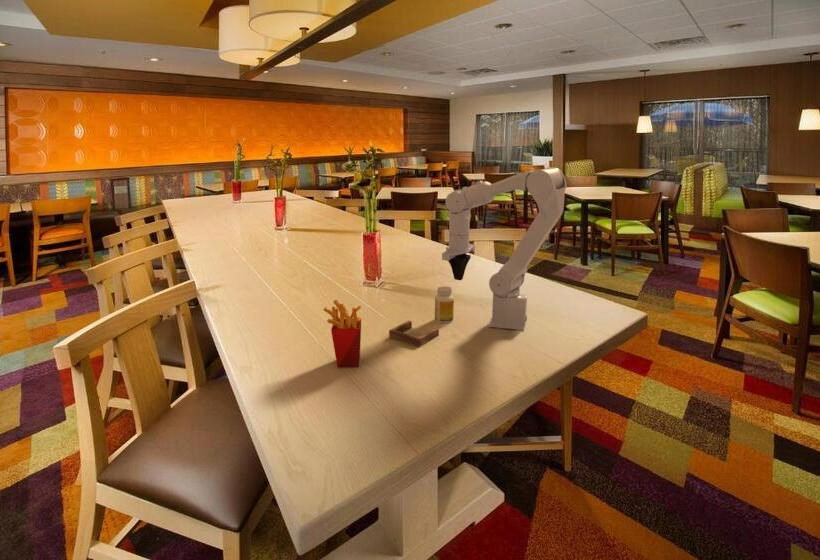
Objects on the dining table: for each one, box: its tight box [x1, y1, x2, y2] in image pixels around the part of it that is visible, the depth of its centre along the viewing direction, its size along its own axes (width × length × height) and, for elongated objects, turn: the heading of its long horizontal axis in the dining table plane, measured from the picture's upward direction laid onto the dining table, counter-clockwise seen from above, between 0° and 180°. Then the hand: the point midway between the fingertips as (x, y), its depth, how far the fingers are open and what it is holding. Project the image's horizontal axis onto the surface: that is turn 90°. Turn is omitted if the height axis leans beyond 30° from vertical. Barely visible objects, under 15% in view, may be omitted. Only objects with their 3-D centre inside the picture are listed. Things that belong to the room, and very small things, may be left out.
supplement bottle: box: [434, 286, 455, 324], centre depth 136 cm, size 5×5×10 cm
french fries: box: [323, 299, 362, 369], centre depth 110 cm, size 9×8×15 cm
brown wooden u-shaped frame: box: [388, 320, 440, 347], centre depth 126 cm, size 8×10×2 cm
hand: (458, 279), depth 140 cm, fingers closed
